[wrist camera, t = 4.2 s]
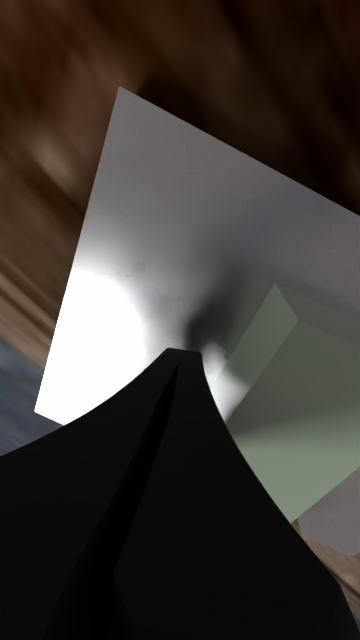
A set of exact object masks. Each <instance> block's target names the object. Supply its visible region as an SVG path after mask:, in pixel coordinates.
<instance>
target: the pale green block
mask: <svg viewBox="0 0 360 640" xmlns="http://www.w3.org/2000/svg"><path fill="white" fill-rule="evenodd" d="M210 390H211V393H212V395H213V398H214V400H215V403H216V405H217V407H218V410H219V412H220V414H221V416H222V418H223V420H224V422H225V424H226V426H227V428H228V430H229V432H230V434H231V436H232V438H233V439H234V441H235V443H236V445H237V446H238V448H239V450H240V451H241V453H242V455H243V456H244V458H245V460H246V461H247V463H248V464H249V466H250V467H251V469H252V470H253V472H254V473H255V475H256V476H257V477H258V479H259V480H260V482H261V483H262V485H263V486H264V488H265V489H266V491H267V492H268V494H269V495H270V497H271V498H272V499H273V501H274V502H275V503H276V505H277V506H278V507H279V509H280V510H281V511H282V513H283V514H284V516H285V517H286V518H287V520H288V521H289V522H290V523H292V522H293V521H294V520H295V519H297V518H298V517H299V516H300V515H301V514H303V513H304V512H305V511H306V510H308V509H309V508H310V507H311V506H312V505H314V504H315V503H316V502H317V501H319V500H320V499H321V498H322V497H323V496H325V495H326V494H327V493H328V492H329V491H331V490H332V489H333V488H334V487H336V486H337V485H338V484H339V483H340V482H342V481H343V480H344V479H345V478H347V477H348V476H349V475H350V474H351V473H353V472H354V471H355V470H356V469H358V468H359V467H360V320H358V319H355V318H353V317H351V316H349V315H346V314H344V313H342V312H340V311H337V310H335V309H333V308H331V307H328V306H326V305H324V304H322V303H319V302H317V301H315V300H313V299H310V298H308V297H306V296H304V295H301V294H299V293H297V292H295V291H292V290H290V289H288V288H286V287H283V286H281V285H279V284H277V283H274V285H273V286H272V288H271V290H270V291H269V293H268V294H267V296H266V298H265V299H264V301H263V303H262V304H261V306H260V308H259V309H258V311H257V313H256V314H255V316H254V318H253V319H252V321H251V323H250V324H249V326H248V327H247V329H246V331H245V332H244V334H243V336H242V337H241V339H240V341H239V342H238V344H237V346H236V347H235V349H234V351H233V352H232V354H231V356H230V357H229V359H228V360H227V362H226V364H225V365H224V367H223V369H222V370H221V372H220V374H219V375H218V377H217V379H216V380H215V382H214V384H213V385H212V387H211V389H210Z"/></svg>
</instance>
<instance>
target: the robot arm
mask: <svg viewBox="0 0 360 640" xmlns="http://www.w3.org/2000/svg"><path fill="white" fill-rule="evenodd" d="M0 640H360V632H359V629H358V627H357V624H356V622H355V619H354V617H353V615H352V612H351V610H350V607H349V605H348V603H347V600H346V598H345V595H344V593H343V591H342V588H341V586H340V584H339V583H338V582H337V580H336V579H335V578H334V577H333V576H332V574H331V573H330V572H329V571H328V570H327V568H326V567H325V566H324V565H323V563H322V562H321V561H320V560H319V559H318V557H317V556H316V555H315V554H314V553H313V551H312V550H311V549H310V548H309V546H308V545H307V544H306V543H305V541H304V540H303V539H302V538H301V536H300V535H299V534H298V532H297V531H296V530H295V529H294V527H293V526H292V525H291V524H290V522H289V521H288V520H287V518H286V517H285V516H284V514H283V513H282V511H281V510H280V509H279V507H278V506H277V505H276V503H275V502H274V501H273V499H272V498H271V497H270V495H269V494H268V492H267V491H266V489H265V488H264V486H263V485H262V483H261V482H260V480H259V479H258V477H257V476H256V475H255V473H254V472H253V470H252V469H251V467H250V466H249V464H248V463H247V461H246V460H245V458H244V456H243V455H242V453H241V451H240V450H239V448H238V446H237V445H236V443H235V441H234V439H233V438H232V436H231V434H230V432H229V430H228V428H227V426H226V424H225V422H224V420H223V418H222V416H221V414H220V412H219V410H218V407H217V405H216V403H215V400H214V398H213V395H212V393H211V390H210V387H209V384H208V381H207V378H206V375H205V371H204V367H203V360H202V354H201V353H200V352H196V351H189V350H182V349H175V348H166V349H165V350H164V351H163V352H162V353H161V354H160V355H159V356H158V357H157V358H156V359H155V360H154V361H153V362H152V363H151V364H150V365H149V366H148V367H147V368H145V369H144V370H143V371H142V372H141V373H140V374H139V375H138V376H136V377H135V378H134V379H133V380H132V381H130V382H129V383H128V384H127V385H125V386H124V387H123V388H122V389H120V390H119V391H118V392H116V393H115V394H114V395H112V396H111V397H110V398H108V399H107V400H105V401H104V402H102V403H101V404H99V405H98V406H96V407H95V408H93V409H92V410H90V411H89V412H87V413H85V414H84V415H82V416H80V417H79V418H77V419H75V420H73V421H71V422H70V423H68V424H66V425H64V426H62V427H61V428H59V429H57V430H55V431H53V432H51V433H50V434H48V435H46V436H44V437H41V438H39V439H37V440H35V441H33V442H31V443H29V444H27V445H25V446H23V447H20V448H18V449H16V450H14V451H12V452H10V453H7V454H5V455H3V456H1V457H0Z"/></svg>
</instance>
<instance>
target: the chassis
mask: <svg viewBox="0 0 360 640" xmlns="http://www.w3.org/2000/svg"><path fill="white" fill-rule="evenodd" d="M274 283H277V284H279V285H281V286H283V287H286V288H288V289H290V290H292V291H295V292H297V293H299V294H301V295H304V296H306V297H308V298H310V299H313V300H315V301H317V302H319V303H322V304H324V305H326V306H328V307H331V308H333V309H335V310H337V311H340V312H342V313H344V314H346V315H349V316H351V317H353V318H355V319H358V320H360V216H359V215H357V214H355V213H353V212H351V211H349V210H347V209H346V208H344V207H342V206H340V205H338V204H336V203H335V202H333V201H331V200H329V199H327V198H325V197H323V196H322V195H320V194H318V193H316V192H314V191H312V190H311V189H309V188H307V187H305V186H303V185H301V184H299V183H298V182H296V181H294V180H292V179H290V178H288V177H286V176H285V175H283V174H281V173H279V172H277V171H275V170H274V169H272V168H270V167H268V166H266V165H264V164H262V163H261V162H259V161H257V160H255V159H253V158H251V157H250V156H248V155H246V154H244V153H242V152H240V151H238V150H237V149H235V148H233V147H231V146H229V145H227V144H226V143H224V142H222V141H220V140H218V139H216V138H214V137H213V136H211V135H209V134H207V133H205V132H203V131H202V130H200V129H198V128H196V127H194V126H192V125H190V124H189V123H187V122H185V121H183V120H181V119H179V118H177V117H176V116H174V115H172V114H170V113H168V112H166V111H165V110H163V109H161V108H159V107H157V106H155V105H153V104H152V103H150V102H148V101H146V100H144V99H142V98H141V97H139V96H137V95H135V94H133V93H131V92H129V91H128V90H126V89H124V88H122V87H120V86H119V89H118V93H117V97H116V101H115V105H114V108H113V112H112V116H111V120H110V124H109V128H108V131H107V135H106V139H105V143H104V147H103V151H102V154H101V158H100V162H99V166H98V170H97V174H96V177H95V181H94V185H93V189H92V193H91V197H90V200H89V204H88V208H87V212H86V216H85V220H84V223H83V227H82V231H81V235H80V239H79V243H78V246H77V250H76V254H75V258H74V262H73V266H72V269H71V273H70V277H69V281H68V285H67V289H66V293H65V296H64V300H63V304H62V308H61V312H60V316H59V319H58V323H57V327H56V331H55V335H54V339H53V342H52V346H51V350H50V354H49V358H48V362H47V365H46V369H45V373H44V377H43V381H42V385H41V388H40V392H39V396H38V400H37V404H36V408H35V411H34V412H37V413H39V414H41V415H43V416H45V417H47V418H50V419H52V420H54V421H56V422H58V423H60V424H63V425H66V424H68V423H70V422H71V421H73V420H75V419H77V418H79V417H80V416H82V415H84V414H85V413H87V412H89V411H90V410H92V409H93V408H95V407H96V406H98V405H99V404H101V403H102V402H104V401H105V400H107V399H108V398H110V397H111V396H112V395H114V394H115V393H116V392H118V391H119V390H120V389H122V388H123V387H124V386H125V385H127V384H128V383H129V382H130V381H132V380H133V379H134V378H135V377H136V376H138V375H139V374H140V373H141V372H142V371H143V370H144V369H145V368H147V367H148V366H149V365H150V364H151V363H152V362H153V361H154V360H155V359H156V358H157V357H158V356H159V355H160V354H161V353H162V352H163V351H164V350H165V349H166V348H175V349H182V350H189V351H196V352H200V353H201V354H202V360H203V367H204V371H205V375H206V378H207V381H208V384H209V387H210V389H211V387H212V385H213V384H214V382H215V380H216V379H217V377H218V375H219V374H220V372H221V370H222V369H223V367H224V365H225V364H226V362H227V360H228V359H229V357H230V356H231V354H232V352H233V351H234V349H235V347H236V346H237V344H238V342H239V341H240V339H241V337H242V336H243V334H244V332H245V331H246V329H247V327H248V326H249V324H250V323H251V321H252V319H253V318H254V316H255V314H256V313H257V311H258V309H259V308H260V306H261V304H262V303H263V301H264V299H265V298H266V296H267V294H268V293H269V291H270V290H271V288H272V286H273V285H274ZM290 524H291V525H292V526H293V527H294V529H295V530H296V531H297V532H298V534H299V535H300V536H301V538H302V535H304V536H306V537H308V538H310V539H313V540H315V541H317V542H319V543H321V544H323V545H326V546H328V547H330V548H332V549H334V550H336V551H339V552H341V553H343V554H345V555H347V556H349V557H352V556H354V555H356V554H358V553H360V467H359V468H358V469H356V470H355V471H354V472H353V473H351V474H350V475H349V476H348V477H347V478H345V479H344V480H343V481H342V482H340V483H339V484H338V485H337V486H336V487H334V488H333V489H332V490H331V491H329V492H328V493H327V494H326V495H325V496H323V497H322V498H321V499H320V500H319V501H317V502H316V503H315V504H314V505H312V506H311V507H310V508H309V509H308V510H306V511H305V512H304V513H303V514H301V515H300V516H299V517H298V518H297V519H295V520H294V521H293V522H292V523H290ZM302 539H303V538H302Z"/></svg>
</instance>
